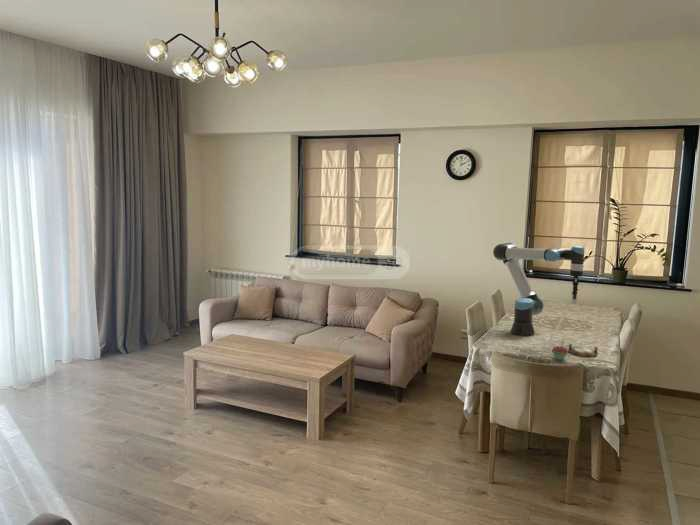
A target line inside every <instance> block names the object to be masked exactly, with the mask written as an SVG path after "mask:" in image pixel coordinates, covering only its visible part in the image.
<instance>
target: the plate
mask: <svg viewBox="0 0 700 525" xmlns="http://www.w3.org/2000/svg"><path fill="white" fill-rule="evenodd" d="M598 348H599V347H598V346H594V349H593V348H589V347H583V346H573V344H571V343H569V344H568V349H567V350H568V354H571V355H573V356H577V357H581V358H582V357H583V358H595V357H597V356H598Z"/></svg>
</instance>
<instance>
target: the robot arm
mask: <svg viewBox="0 0 700 525" xmlns="http://www.w3.org/2000/svg"><path fill="white" fill-rule="evenodd" d="M492 253H493V256H494V259H496V260H498V261H502V262H503V264H504V265H505V266H507V268H508V271H509V273H510V275H511V278H512V280H513V282H514V284H515V286H516V288H517V291H518V292H519V295H520V298H517V299H516V300H515V301H514V318H513V322H512V326H511V328H510V333H511V334H512V333H513V334H512V335H515V334H516V336H520V335H522V337H530V335H532V336H535V329H534V326H533V316H538V315H540V314H541V313H542V312H543V310H544V307H545V304H544V301H543V299H542V298H540V297H539V296H538V295H537V293H536V292H535V291H533V289H532V286H531V284H530V283H529V280H528V278H527V276H526V274H525V271H524V269H523V267H522V265H521V262H520V260H530V261H531V260H532V261H548V262H557V261H562V260H563V261H570V265H569V266H570V267H569V268H570V270H569V271H570V272H569V275H570V276H571V277H573V278H572V286H573V287H572V292H571V295H572V298H571V305H577V299H578V291H579V289H578V286H579V282H580V277H583V275H584V274H583V272H584V271H583V270H584V267H585V265H584V262H585V261H584V260H585V259H584V258H585V248H584V246H580V245H579V246H577V245H574V246H572V247H571V248H564V247H555V248H553V249H551V248H526V247H525V248H523V247H518V245H517V244H515V243H512V242H506V243H500V244H497V245H495V247H494V248H493V251H492Z"/></svg>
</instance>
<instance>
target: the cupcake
mask: <svg viewBox="0 0 700 525" xmlns="http://www.w3.org/2000/svg"><path fill="white" fill-rule="evenodd" d="M564 340H565V339H564V338H563V339H562V340H561V346H560V345H557V346H553V347H552V349H551V352H552V354H553V356H554V358H555V359H556V360H560V361H564V359H565V358H566V356H567V354H569V352H568V349H567V347H566V348H565V347H564Z"/></svg>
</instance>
